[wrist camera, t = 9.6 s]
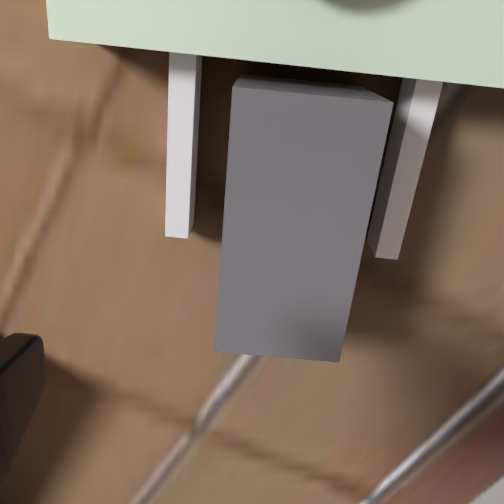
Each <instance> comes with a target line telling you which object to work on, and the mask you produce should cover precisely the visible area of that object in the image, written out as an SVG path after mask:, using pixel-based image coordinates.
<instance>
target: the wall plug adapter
mask: <svg viewBox="0 0 504 504" xmlns="http://www.w3.org/2000/svg"><path fill="white" fill-rule="evenodd" d="M46 4H47V17H48V30H49V39H56V40H65V41H74V42H84V43H93V44H102V45H111V46H120V47H130V48H139V49H148V50H157V51H166V52H169V90H168V134H167V177H166V221H165V236H167V237H177V238H187V239H188V237H189V235H190V232H191V229H192V227H193V224H194V211H195V192H196V172H197V152H198V132H199V113H200V93H201V73H202V55H203V56H212V57H221V58H230V59H240V60H249V61H258V62H267V63H276V64H285V65H295V66H304V67H313V68H322V69H331V70H340V71H350V72H359V73H368V74H377V75H386V76H395V77H403V79H402V83H401V88H400V92H399V97H398V101H397V106H396V110H395V115H394V119H393V124H392V128H391V133H390V137H389V142H388V146H387V151H386V155H385V160H384V164H383V169H382V173H381V178H380V182H379V187H378V191H377V196H376V200H375V205H374V209H373V214H372V218H371V223H370V227H369V232H368V236H367V242H368V244H369V246H370V248H371V250H372V252H373V254H374V256H375V257H376V258H386V259H396V260H398V256H399V252H400V249H401V245H402V241H403V237H404V233H405V229H406V225H407V221H408V218H409V214H410V210H411V206H412V202H413V198H414V194H415V190H416V186H417V183H418V179H419V175H420V171H421V167H422V163H423V159H424V155H425V152H426V148H427V144H428V140H429V136H430V132H431V128H432V124H433V121H434V117H435V113H436V109H437V105H438V101H439V97H440V93H441V90H442V86H443V82H451V83H460V84H469V85H478V86H487V87H496V88H504V0H46Z"/></svg>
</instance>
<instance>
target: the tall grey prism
mask: <svg viewBox="0 0 504 504" xmlns="http://www.w3.org/2000/svg"><path fill="white" fill-rule="evenodd" d="M393 103H394V102H392V101H390V100H388V99H386V98H384V97H382V96H380V95H378V94H376V93H374V92H372V91H370V90H368V89H366V88H364V87H362V86H358V85H347V84H337V83H327V82H317V81H307V80H296V79H286V78H276V77H266V76H256V75H245V74H240V75H239V77H238V79H237V80H236V82H235V84H234V85H233V87H232V101H231V115H230V130H229V144H228V159H227V174H226V188H225V203H224V217H223V232H222V247H221V261H220V276H219V290H218V305H217V320H216V334H215V349H214V352H226V353H237V354H249V355H260V356H271V357H283V358H294V359H306V360H317V361H329V362H339V360H340V356H341V351H342V346H343V341H344V337H345V332H346V327H347V322H348V318H349V313H350V308H351V303H352V299H353V294H354V289H355V284H356V279H357V275H358V270H359V265H360V260H361V256H362V251H363V246H364V241H365V237H366V232H367V227H368V222H369V218H370V213H371V208H372V203H373V199H374V194H375V189H376V184H377V180H378V175H379V170H380V165H381V160H382V156H383V151H384V146H385V141H386V137H387V132H388V127H389V122H390V118H391V113H392V108H393Z"/></svg>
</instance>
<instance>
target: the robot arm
mask: <svg viewBox="0 0 504 504" xmlns="http://www.w3.org/2000/svg"><path fill="white" fill-rule="evenodd" d="M45 383H46V365H45V356H44V346H43V341H42V338H41V337H40V336H39V335H35V334H25V333H14V334H12V335H9V336H7V337H5V338H3V339H1V340H0V490H1V488H2V486H3V484H4V482H5V480H6V478H7V476H8V474H9V472H10V470H11V467H12V465H13V463H14V460H15V458H16V456H17V453H18V451H19V448H20V446H21V444H22V441H23V439H24V436H25V434H26V431H27V429H28V426H29V424H30V422H31V419H32V417H33V414H34V412H35V409H36V407H37V404H38V402H39V399H40V397H41V395H42V392H43V390H44V387H45Z"/></svg>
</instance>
